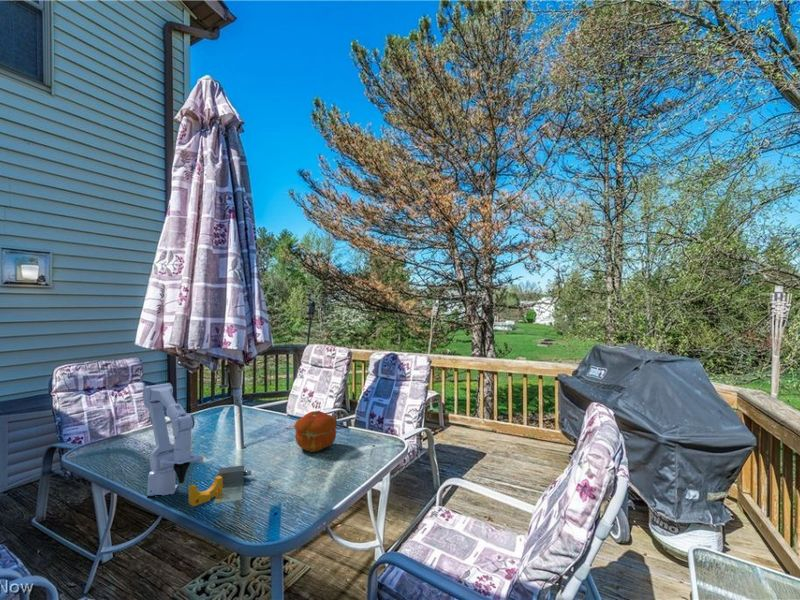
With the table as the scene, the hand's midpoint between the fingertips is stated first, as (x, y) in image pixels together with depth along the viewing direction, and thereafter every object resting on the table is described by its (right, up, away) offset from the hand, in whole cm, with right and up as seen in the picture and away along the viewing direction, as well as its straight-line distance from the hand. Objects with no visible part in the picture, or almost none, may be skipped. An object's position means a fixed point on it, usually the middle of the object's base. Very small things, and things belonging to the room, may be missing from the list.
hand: (181, 482), depth 148 cm
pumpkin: (+39, -10, +59) cm, 71 cm away
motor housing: (+15, -8, +12) cm, 21 cm away
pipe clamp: (+8, -8, +3) cm, 12 cm away
